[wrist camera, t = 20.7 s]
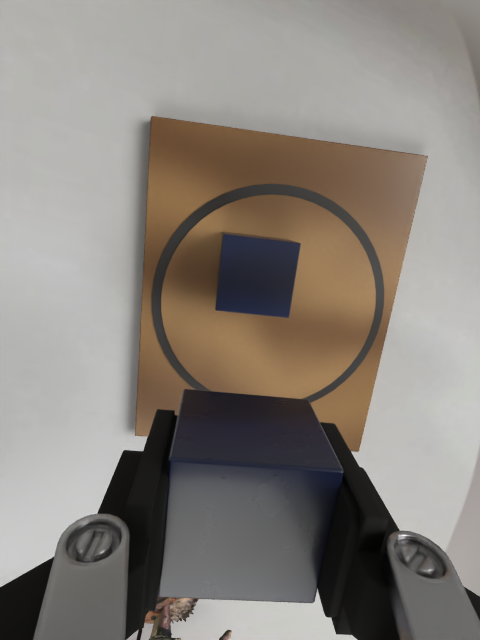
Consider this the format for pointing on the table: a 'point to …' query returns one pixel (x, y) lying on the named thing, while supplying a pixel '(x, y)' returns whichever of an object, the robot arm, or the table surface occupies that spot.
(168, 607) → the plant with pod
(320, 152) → the board
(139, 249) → the table surface
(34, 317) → the table surface
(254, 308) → the dark blue cube
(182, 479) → the dark blue block
